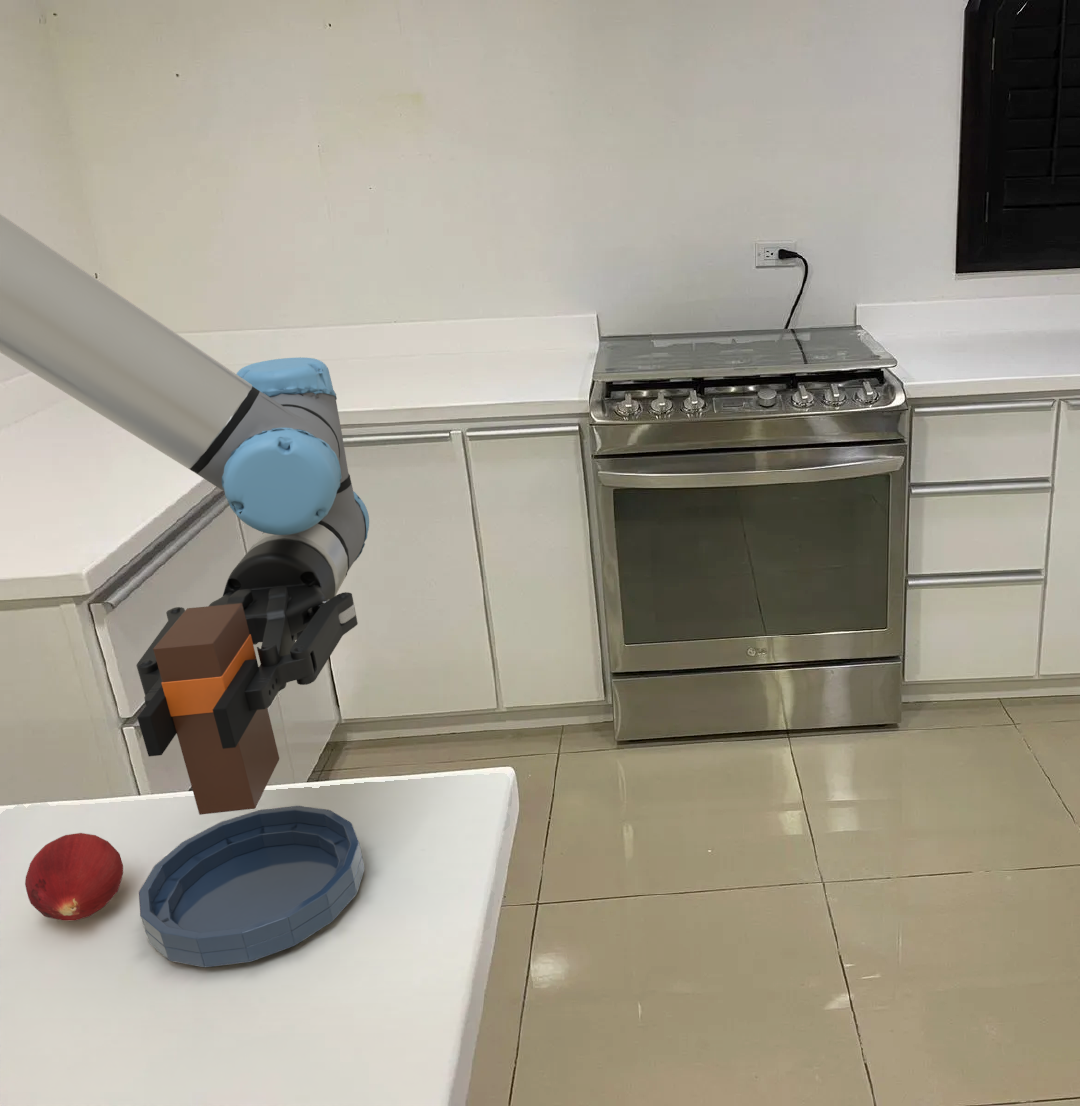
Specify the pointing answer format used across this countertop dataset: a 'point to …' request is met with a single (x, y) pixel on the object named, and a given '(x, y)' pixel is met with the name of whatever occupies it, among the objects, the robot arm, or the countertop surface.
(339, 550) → the robot arm
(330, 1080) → the countertop surface
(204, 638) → the snack carton
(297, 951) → the countertop surface
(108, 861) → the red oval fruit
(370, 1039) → the countertop surface
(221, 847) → the bowl
